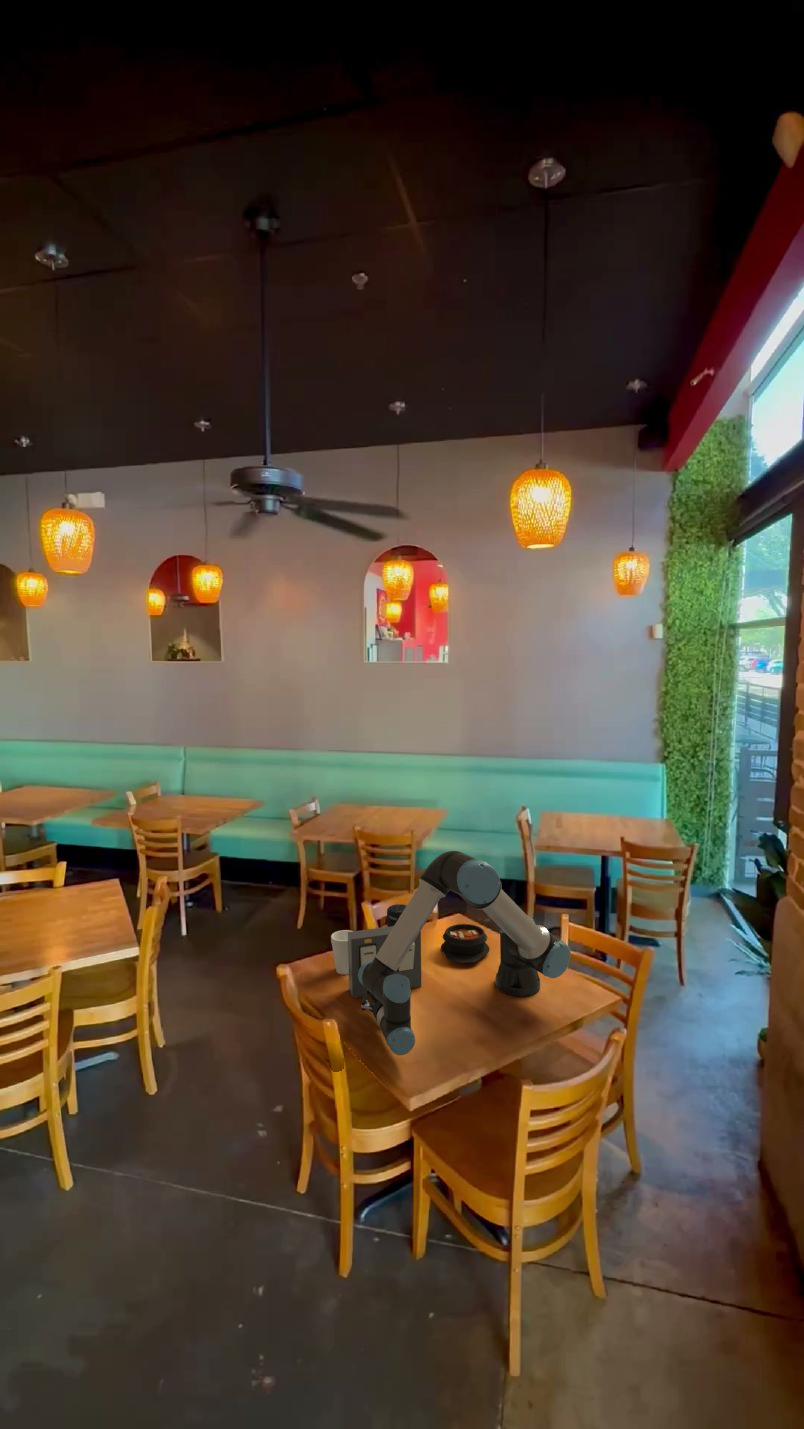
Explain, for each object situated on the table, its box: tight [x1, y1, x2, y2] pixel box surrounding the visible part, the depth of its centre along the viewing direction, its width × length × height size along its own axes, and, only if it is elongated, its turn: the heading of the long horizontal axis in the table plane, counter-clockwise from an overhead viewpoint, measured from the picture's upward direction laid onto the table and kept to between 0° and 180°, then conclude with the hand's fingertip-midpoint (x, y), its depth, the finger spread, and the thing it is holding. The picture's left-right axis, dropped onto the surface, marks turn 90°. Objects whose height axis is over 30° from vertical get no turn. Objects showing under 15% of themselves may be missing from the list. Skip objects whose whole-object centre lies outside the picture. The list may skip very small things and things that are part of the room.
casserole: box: [440, 923, 491, 964], centre depth 244 cm, size 25×19×8 cm
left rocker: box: [360, 945, 376, 966], centre depth 211 cm, size 2×5×10 cm, turn 106°
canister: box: [386, 903, 407, 927], centre depth 246 cm, size 10×10×18 cm
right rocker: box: [398, 943, 415, 971], centre depth 215 cm, size 2×5×10 cm, turn 106°
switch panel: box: [348, 926, 422, 999], centre depth 221 cm, size 16×24×20 cm, turn 106°
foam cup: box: [330, 929, 354, 975], centre depth 230 cm, size 10×9×13 cm
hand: (368, 978), depth 211 cm, fingers closed
